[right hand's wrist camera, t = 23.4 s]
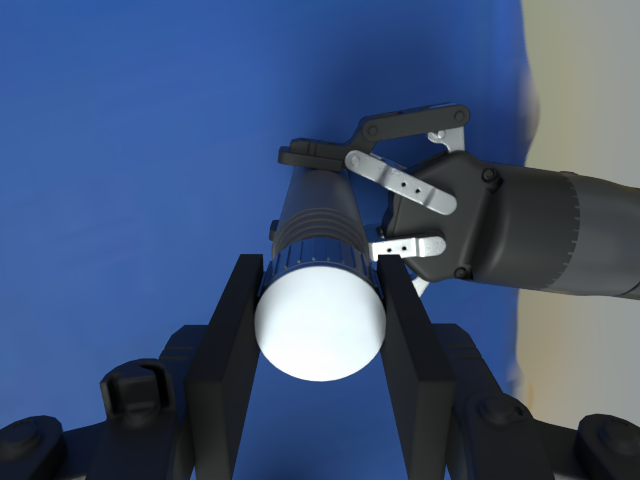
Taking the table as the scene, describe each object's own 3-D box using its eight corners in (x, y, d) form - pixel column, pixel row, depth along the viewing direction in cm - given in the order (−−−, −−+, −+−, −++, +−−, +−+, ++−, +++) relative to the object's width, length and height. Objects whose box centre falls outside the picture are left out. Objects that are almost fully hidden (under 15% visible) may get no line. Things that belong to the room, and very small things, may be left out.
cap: (312, 360, 16) (311, 404, 14) (236, 283, 15) (221, 319, 13) (402, 297, 15) (416, 335, 13) (328, 210, 14) (330, 235, 12)
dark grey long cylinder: (287, 196, 33) (243, 354, 14) (300, 143, 31) (269, 239, 12) (339, 209, 33) (365, 379, 14) (354, 157, 32) (403, 271, 13)
